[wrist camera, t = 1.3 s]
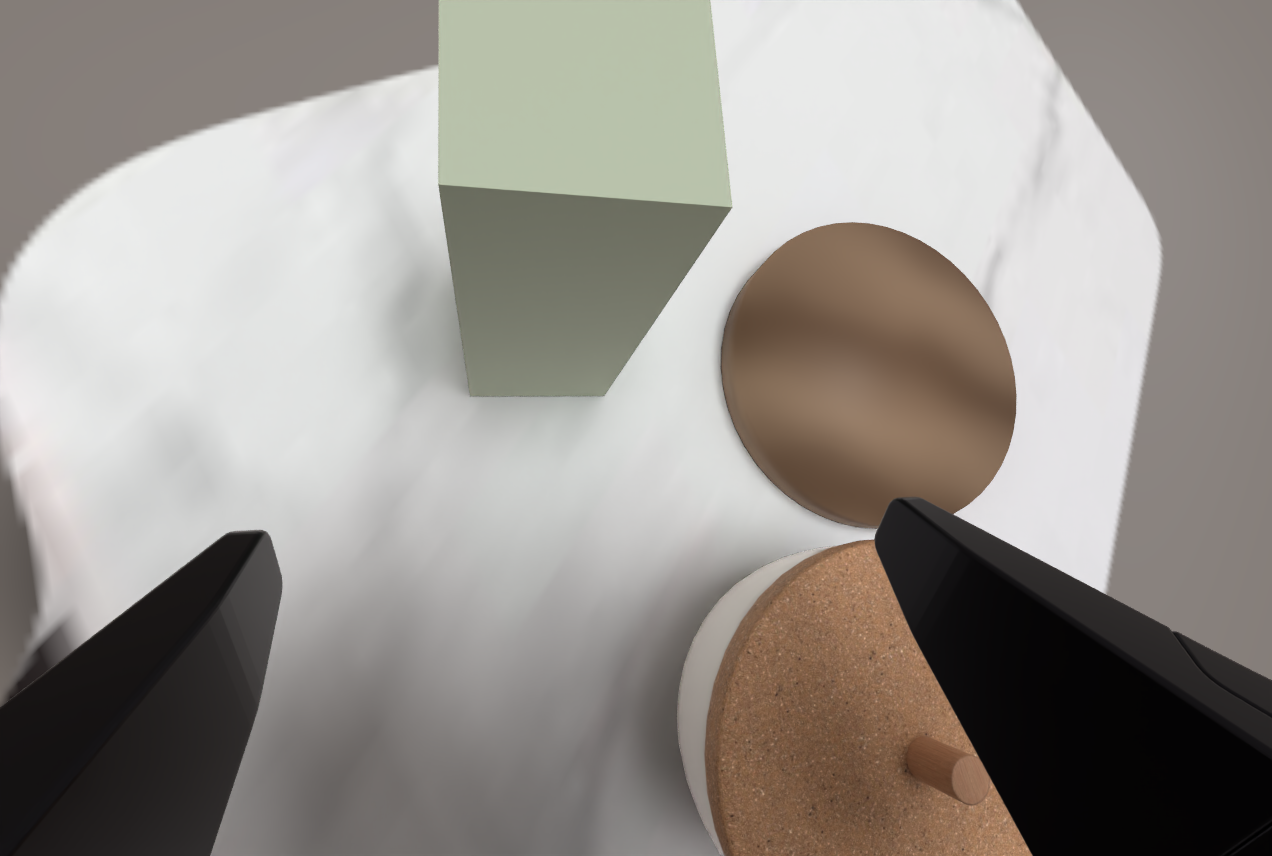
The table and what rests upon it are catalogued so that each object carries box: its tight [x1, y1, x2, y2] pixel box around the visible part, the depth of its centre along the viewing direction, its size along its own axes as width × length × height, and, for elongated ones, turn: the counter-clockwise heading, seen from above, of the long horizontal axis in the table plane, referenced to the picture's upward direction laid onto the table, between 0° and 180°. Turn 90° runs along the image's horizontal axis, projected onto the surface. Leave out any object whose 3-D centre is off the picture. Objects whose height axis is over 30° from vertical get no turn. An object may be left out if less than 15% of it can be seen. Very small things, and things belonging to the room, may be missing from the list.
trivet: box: [721, 222, 1016, 528], centre depth 25 cm, size 13×13×2 cm
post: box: [438, 0, 732, 396], centre depth 17 cm, size 5×5×13 cm
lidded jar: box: [677, 540, 1032, 856], centre depth 18 cm, size 11×11×9 cm
